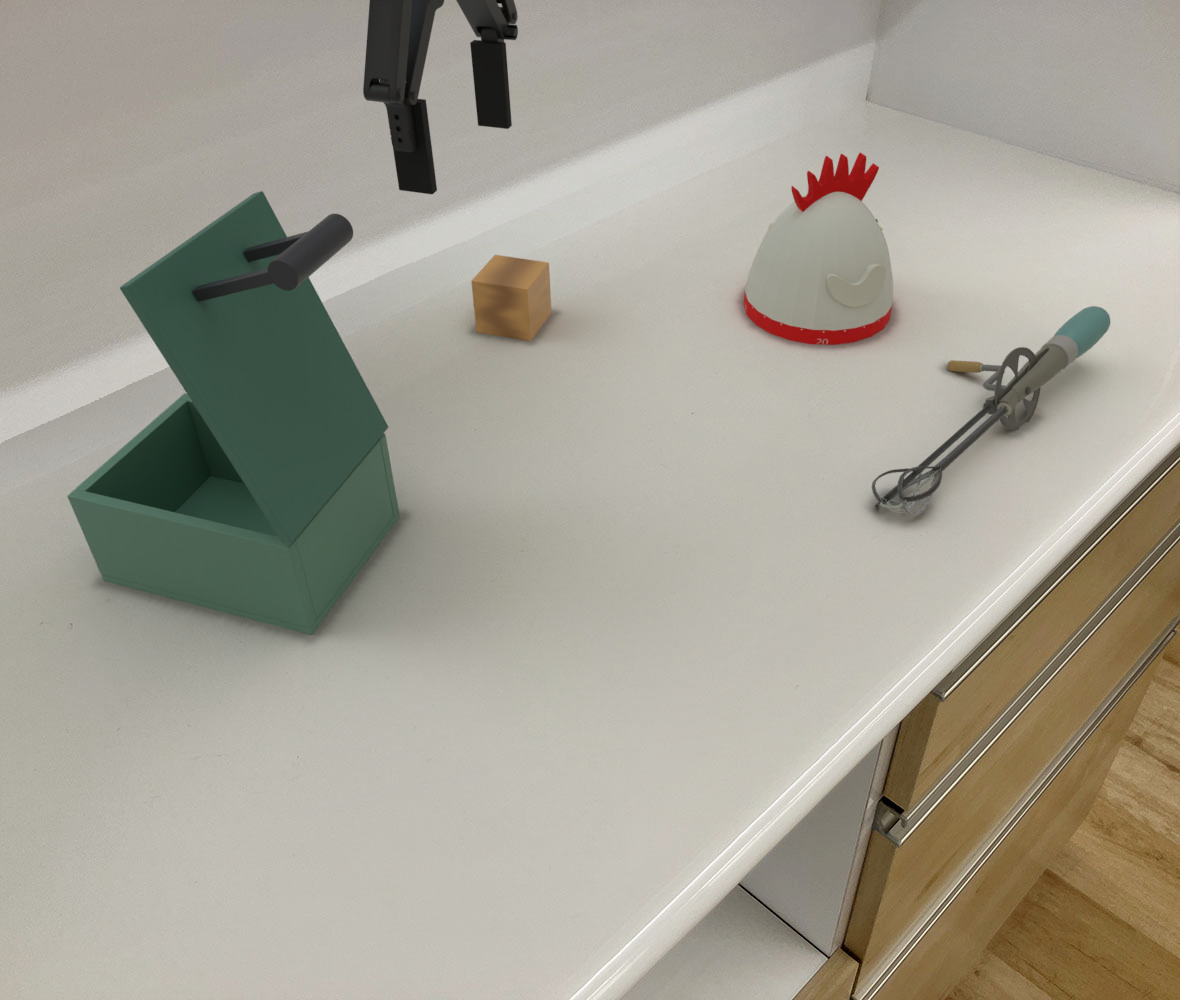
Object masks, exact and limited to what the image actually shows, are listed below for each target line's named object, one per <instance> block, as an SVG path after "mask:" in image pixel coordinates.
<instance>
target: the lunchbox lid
mask: <svg viewBox="0 0 1180 1000" xmlns="http://www.w3.org/2000/svg"><path fill="white" fill-rule="evenodd" d="M353 237H354V228H353V225H352V224H351V222H350V221H349V219H347V218H346V216H344V215H342V214H339V213H331V214H328V215H327V216H326V217H324V218H323V219H322V220H321V221H320V222H319V223H317V224H315V226H313V227H312V228H311V229H309V230H308V231H305V232H301V233H297V234H293V235H290V236H288V235H287V234H286V232H285V230H284V229H283V227H282V225H281V223H280V221H279V219H278V217H277V215H276V213H275V212H274V210H273V208H272V206H271V205H270V202H269V200H268V198H267V196H266V195H265V193H264V191H262V190H261V191H257V192H254V193H252V194H251V195H249V196H248V197H246V198H245V199H244V200H242V201H241V202H239V203H238V204H237V205H235V206H233V207H232V208H231V209H229V210H227V212H225V213H224V214H221V215H220V216H219V217H218V218H216V219H215V220H214V221H212V222H211V223H210V224H207V225H206V226H205V227H204V228H202V229H201V230H199V231H198V232H197V233H195V234H193V235H192V236H191V237H189V238H188V239H186V240H184V241H183V242H182V243H181V244H179V245H177V246H176V247H175V248H173V249H172V250H171V251H169V252H168V253H166V254H165V255H164V256H162V257H160V258H159V259H158V260H156V261H155V262H153V263H152V264H151V265H149V266H148V267H146V268H145V269H144V270H142V271H141V272H139V273H138V274H136V275H135V276H134V277H132V278H131V279H129V280H128V281H126V282H125V283H124V284H122V285H121V286H120V287H119V290H120V291H121V293H122V294H123V296H124V298H125V299H126V300H127V302H128V304H129V305H130V307H131V308H132V310H133V312H134V314H136V317H137V318H138V320H139V322H141V324H142V325H143V326H142V327H144V329H145V330H146V332H147V333H148V335H149V337H150V338H151V340H152V341H153V343H154V344H155V346H156V348H157V349H158V351H159V353H160V354H161V355H162V357H163V358H164V360H165V362H166V363H167V365H168V366H169V368H170V369H171V372H172V373H173V374H174V376H175V377H176V379H177V380H178V382H179V384H180V385H181V386H182V389H183V390H184V391H185V394H188V396H189V398H190V399H191V401H192V402H193V404H194V405H195V407H196V409H197V410H198V412H199V413H200V415H201V416H202V418H203V419H204V421H205V423H206V424H207V426H208V427H209V429H210V430H211V432H212V434H213V435H214V437H215V438H216V440H217V441H218V443H219V444H220V446H221V448H222V449H223V451H224V452H225V454H226V455H227V457H228V459H229V460H230V462H231V463H232V465H233V466H234V468H235V470H236V471H237V473H238V474H239V476H240V477H241V479H242V480H243V482H244V484H245V485H246V487H247V488H248V490H249V491H250V493H251V495H252V496H253V498H254V499H255V501H256V502H257V504H258V506H259V507H260V509H261V510H262V512H263V513H264V515H265V516H266V518H267V520H268V521H269V523H270V524H271V526H272V527H273V529H274V531H275V532H276V534H277V535H278V537H279V538H280V540H281V542H282V543H290V542H292V541H293V540H294V539H295V538H296V537H297V535H298V534H299V533H300V532H301V531H302V530H303V528H304V527H305V526H306V525H307V524H308V522H309V521H310V520H311V519H312V518H313V516H314V515H315V514H316V513H317V512H318V511H319V509H320V508H321V507H322V506H323V505H324V503H325V502H326V501H327V500H328V499H329V497H330V496H331V495H332V494H333V493H334V492H335V490H336V489H337V488H338V487H339V486H340V484H341V483H342V482H343V481H344V480H345V478H346V477H347V476H348V475H349V474H350V473H351V471H352V470H353V469H354V468H355V467H356V465H357V464H358V463H359V462H360V461H361V459H362V458H363V457H364V456H365V455H366V454H367V452H368V451H369V450H370V449H371V448H372V446H373V445H374V444H375V443H376V442H377V440H378V439H379V438H380V437H381V436H382V434H383V433H386V431H387V430H388V429H389V425H388V423H387V422H386V419H385V417H384V416H383V414H382V412H381V410H380V408H379V406H378V404H377V403H376V401H375V398H374V397H373V395H372V393H371V391H370V390H369V387H368V386H367V384H366V382H365V380H364V378H363V376H362V374H361V373H360V371H359V369H358V367H357V365H356V364H355V362H354V359H353V358H352V356H351V354H350V352H349V350H348V349H347V348H348V347H346V344H345V342H344V341H343V339H342V336H341V335H340V333H339V332H338V329H337V328H336V326H335V323H334V322H333V320H332V318H331V316H330V314H329V312H328V311H327V309H326V307H325V305H324V303H323V301H322V300H321V298H320V295H319V293H318V292H317V290H316V288H315V286H314V285H313V283H312V281H311V279H310V277H311V276H312V275H313V274H314V273H316V271H318V270H319V269H320V268H321V267H322V266H324V264H326V263H327V262H328V261H329V260H331V258H333V257H334V256H335V255H336V254H338V252H339V251H341V250H342V249H343V248H344V247H345V246H346V245H348V244H349V243H350V242H351V241H352V239H353Z"/></svg>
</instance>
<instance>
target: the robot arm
mask: <svg viewBox="0 0 1180 1000" xmlns="http://www.w3.org/2000/svg"><path fill="white" fill-rule="evenodd" d="M455 1H456V3H457V4H458V7H459V8H460V10H461V12H462V13H463V15H464V17H465V18H466V20H467V23H468V25H469V26H470V28H471V30H472V31H473V33H474V35H475V37H477V38H480V40H478V39H473V40H472V41H470V42H469V44H470V55H471V56H470V57H471V66H472V76H473V86H474V87H473V89H474V98H475V107H476V118H477V119H476V120H477V126H478V127H486V128H497V129H504V130H505V129H506V130H509V129H510V128H511V127H512V125H513V124H512V110H511V98H510V97H511V95H510V83H509V70H508V57H507V56H508V55H507V44H506V40H507V41H516V40H517V38H518V36H519V35H518V34H519V29H518V28H519V27H518V25H517V22H518V18H519V17H518V11H517V7H516V3H515V0H455ZM444 3H445V0H369V5H368V6H369V7H368V16H367V17H368V18H367V32H366V44H365V45H366V48H365V61H364V73H363V74H364V75H363V87H362V94H363V98H364V99H365V100H366V101H367V102H368V101H369V102H375V103H378V102H379V103H383V104H384V106H385V109H386V114H387V120H388V128H389V134H390V141H391V146H392V150H393V156H394V164H395V171H396V178H397V184H398V190H399V191H402V192H403V191H404V192H411V193H417V194H418V193H419V194H426V195H434V194H435V193H436V192H437V191H438V188H437V187H438V185H437V179H436V171H435V162H434V155H433V154H434V153H433V146H432V137H431V130H430V129H431V128H430V122H429V121H430V120H429V113H428V107H427V100H426V99H424V98H419V95H420V90H421V84H422V79H423V75H424V71H425V65H426V59H427V55H428V50H429V45H430V40H431V34H432V30H433V25H434V20H435V15H436V12H437V10H438V9H440V8H442V7H443V6H444ZM499 4H501V6H499Z"/></svg>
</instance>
